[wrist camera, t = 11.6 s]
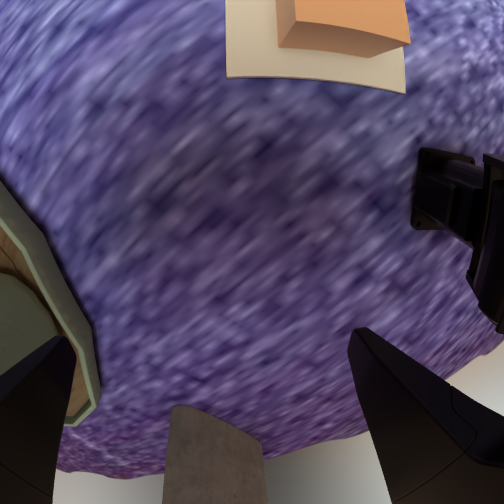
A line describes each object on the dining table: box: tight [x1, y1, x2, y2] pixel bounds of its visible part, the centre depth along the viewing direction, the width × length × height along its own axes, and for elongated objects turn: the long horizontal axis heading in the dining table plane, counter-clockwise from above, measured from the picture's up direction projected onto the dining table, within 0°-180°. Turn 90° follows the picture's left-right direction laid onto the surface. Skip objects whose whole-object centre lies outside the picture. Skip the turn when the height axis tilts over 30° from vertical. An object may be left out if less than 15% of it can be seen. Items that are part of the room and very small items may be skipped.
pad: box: [226, 0, 406, 94], centre depth 12 cm, size 12×10×1 cm
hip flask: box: [162, 405, 268, 504], centre depth 22 cm, size 16×4×20 cm, turn 36°
